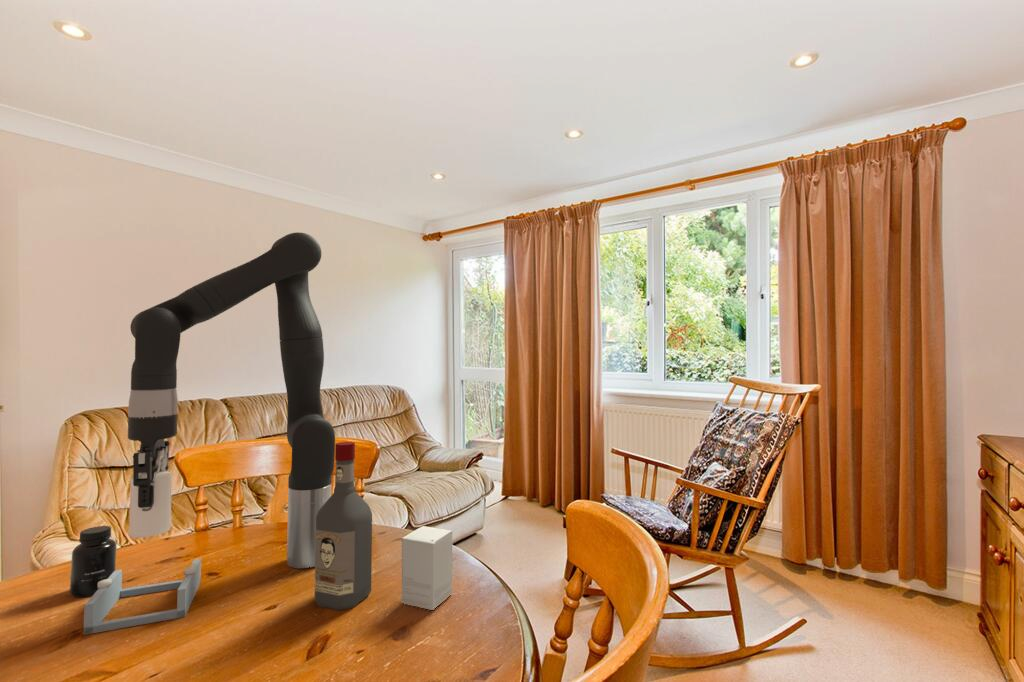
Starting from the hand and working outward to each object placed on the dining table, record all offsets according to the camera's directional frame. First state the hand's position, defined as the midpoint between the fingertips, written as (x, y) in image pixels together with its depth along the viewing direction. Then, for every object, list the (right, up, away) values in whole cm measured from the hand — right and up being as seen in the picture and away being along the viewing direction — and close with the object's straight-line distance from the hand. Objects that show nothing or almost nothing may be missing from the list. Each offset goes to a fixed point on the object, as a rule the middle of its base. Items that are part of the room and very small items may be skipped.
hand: (151, 501), depth 91 cm
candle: (0, -6, 0) cm, 6 cm away
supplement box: (+52, -20, +2) cm, 56 cm away
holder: (0, -20, -1) cm, 20 cm away
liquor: (+35, -20, +3) cm, 41 cm away
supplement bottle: (-16, -20, +6) cm, 26 cm away
